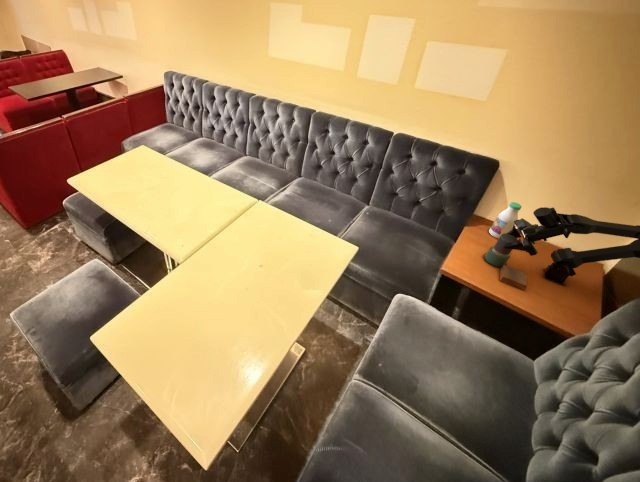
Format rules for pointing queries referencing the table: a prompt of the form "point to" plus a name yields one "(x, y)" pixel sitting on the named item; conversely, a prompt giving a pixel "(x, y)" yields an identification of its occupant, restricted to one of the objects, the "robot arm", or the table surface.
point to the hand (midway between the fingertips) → (502, 242)
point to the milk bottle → (505, 220)
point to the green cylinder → (496, 258)
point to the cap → (504, 243)
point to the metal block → (513, 277)
